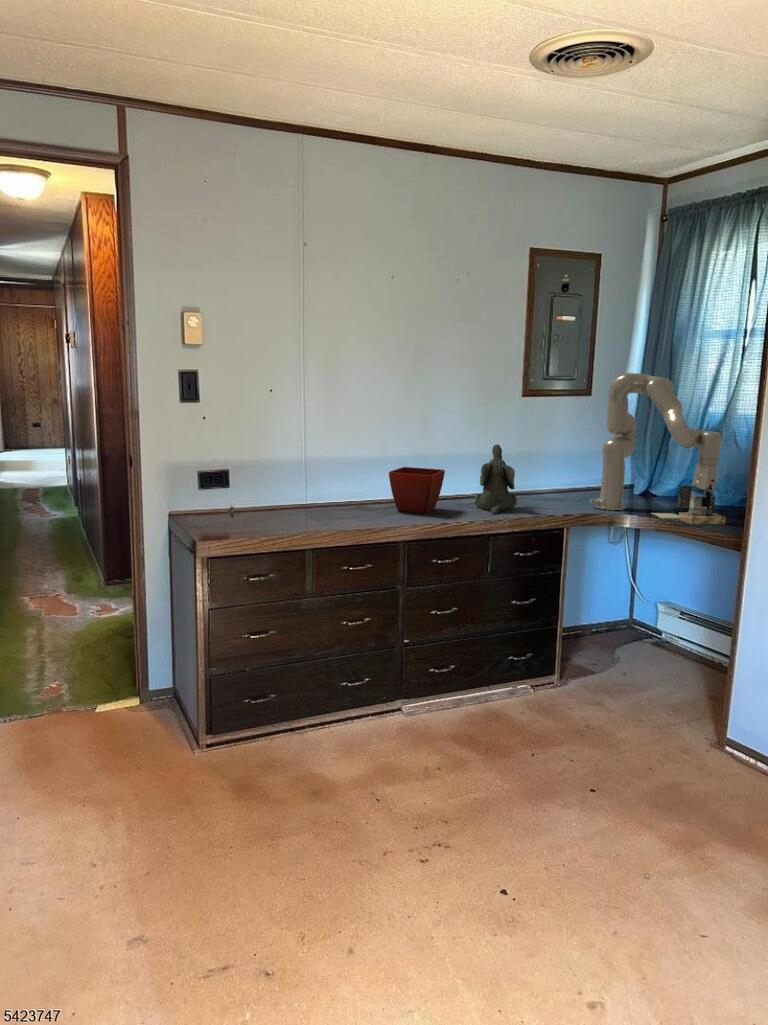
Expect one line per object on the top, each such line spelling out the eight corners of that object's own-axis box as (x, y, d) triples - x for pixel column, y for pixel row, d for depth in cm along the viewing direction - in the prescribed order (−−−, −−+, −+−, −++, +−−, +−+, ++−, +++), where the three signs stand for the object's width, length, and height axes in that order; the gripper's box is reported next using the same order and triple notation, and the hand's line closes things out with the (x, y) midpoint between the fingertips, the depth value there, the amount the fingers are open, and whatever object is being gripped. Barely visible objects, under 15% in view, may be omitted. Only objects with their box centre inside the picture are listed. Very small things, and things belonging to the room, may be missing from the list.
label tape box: (691, 516, 314) (696, 487, 311) (687, 513, 318) (692, 485, 315) (712, 517, 314) (717, 487, 311) (708, 514, 318) (712, 485, 315)
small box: (700, 507, 350) (702, 485, 348) (704, 510, 343) (707, 487, 341) (676, 506, 351) (678, 484, 349) (680, 509, 344) (682, 486, 342)
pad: (662, 519, 319) (662, 517, 319) (650, 514, 329) (651, 513, 329) (684, 518, 321) (684, 517, 321) (672, 514, 331) (672, 513, 330)
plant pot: (386, 511, 316) (387, 471, 313) (402, 504, 334) (403, 466, 331) (430, 516, 310) (431, 475, 306) (443, 508, 327) (445, 469, 324)
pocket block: (691, 524, 310) (692, 517, 309) (678, 519, 319) (679, 512, 319) (725, 524, 312) (725, 517, 312) (711, 519, 322) (711, 512, 321)
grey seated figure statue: (493, 503, 345) (497, 443, 340) (526, 510, 328) (530, 448, 323) (461, 506, 334) (464, 444, 329) (493, 514, 317) (497, 450, 312)
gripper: (688, 458, 319) (682, 501, 322) (711, 464, 302) (705, 509, 306) (704, 459, 320) (698, 501, 324) (728, 464, 304) (721, 509, 307)
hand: (701, 504), depth 315 cm, fingers closed on label tape box, 4 cm apart
